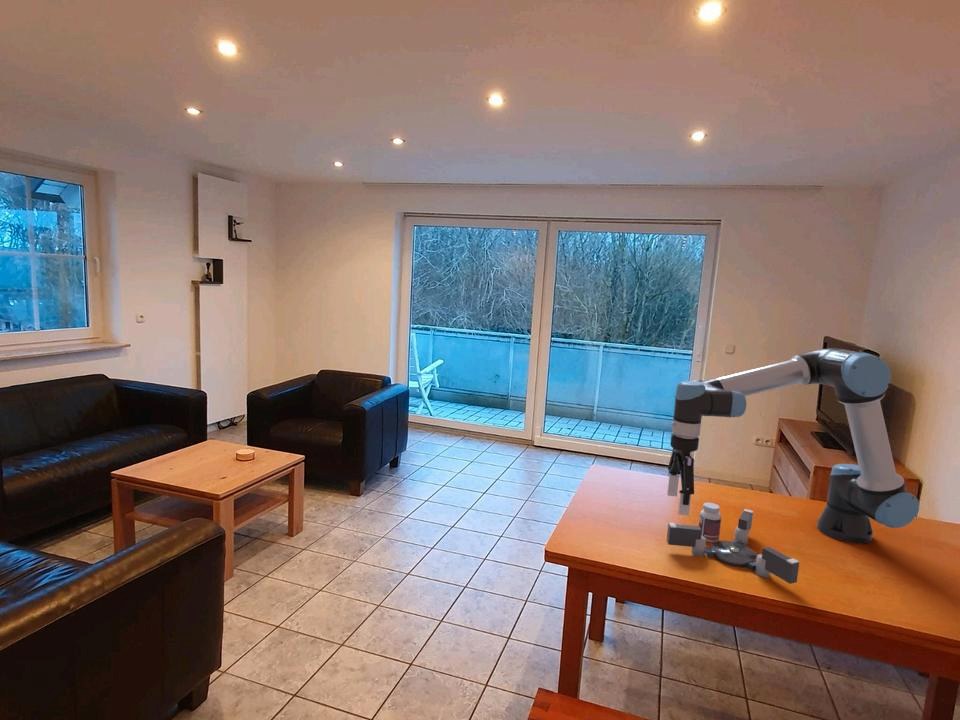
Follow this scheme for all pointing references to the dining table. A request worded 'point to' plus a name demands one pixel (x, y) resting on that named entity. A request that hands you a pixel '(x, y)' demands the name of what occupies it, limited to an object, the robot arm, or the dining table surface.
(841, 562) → the dining table surface
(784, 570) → the grey bar white cap
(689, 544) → the dark bar with dome
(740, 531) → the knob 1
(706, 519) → the pill bottle
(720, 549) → the base
